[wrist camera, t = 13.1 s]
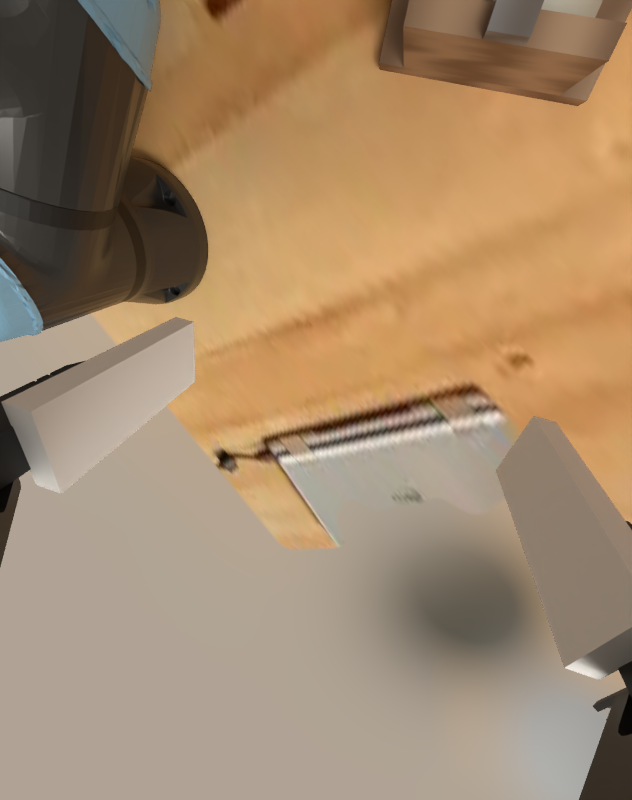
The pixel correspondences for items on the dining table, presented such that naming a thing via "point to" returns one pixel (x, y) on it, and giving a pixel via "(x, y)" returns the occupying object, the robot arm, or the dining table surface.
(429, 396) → the dining table surface
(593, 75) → the holder
